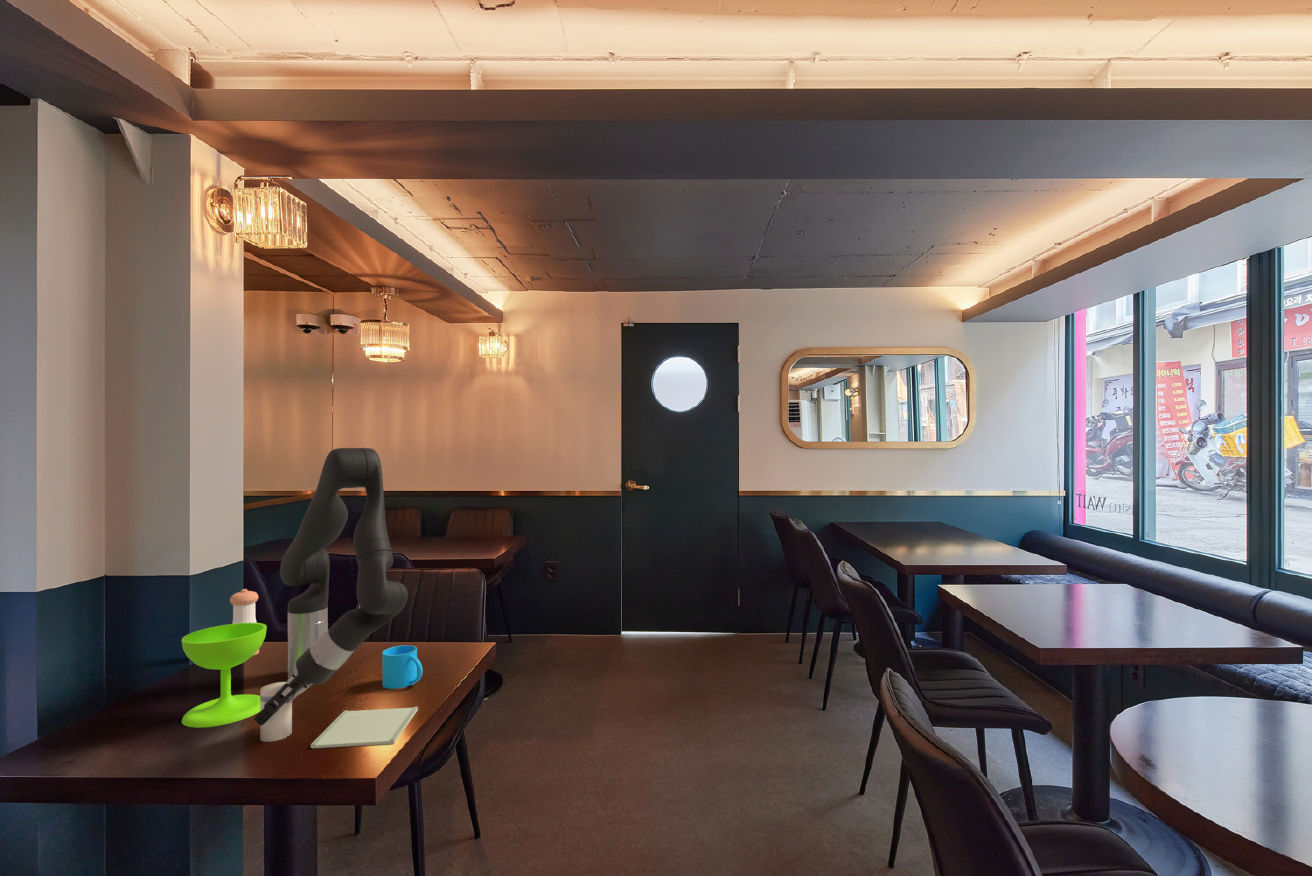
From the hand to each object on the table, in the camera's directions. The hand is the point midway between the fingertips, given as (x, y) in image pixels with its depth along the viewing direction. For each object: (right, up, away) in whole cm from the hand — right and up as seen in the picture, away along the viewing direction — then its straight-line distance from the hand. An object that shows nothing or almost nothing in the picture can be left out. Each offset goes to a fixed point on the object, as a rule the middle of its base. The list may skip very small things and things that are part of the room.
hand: (269, 713), depth 127 cm
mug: (+17, -5, +28) cm, 33 cm away
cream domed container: (+1, -5, 0) cm, 5 cm away
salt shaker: (-41, -7, +52) cm, 67 cm away
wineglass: (-18, -5, +12) cm, 22 cm away
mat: (+19, -4, +3) cm, 20 cm away
